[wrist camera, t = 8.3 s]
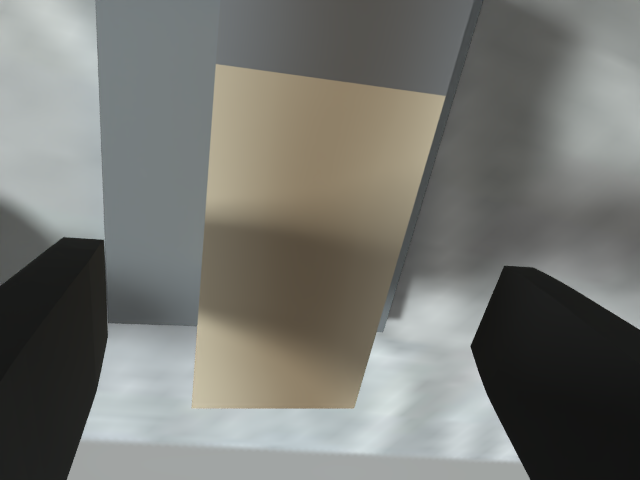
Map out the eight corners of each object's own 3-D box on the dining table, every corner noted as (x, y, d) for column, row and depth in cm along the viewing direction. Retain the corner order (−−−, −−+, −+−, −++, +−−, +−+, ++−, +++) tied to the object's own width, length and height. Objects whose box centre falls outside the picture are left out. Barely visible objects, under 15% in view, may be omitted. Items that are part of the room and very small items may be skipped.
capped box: (201, 265, 17) (191, 408, 12) (226, -83, 12) (225, -80, 7) (319, 272, 18) (354, 408, 13) (385, -51, 13) (482, -30, 8)
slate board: (113, 304, 19) (108, 322, 18) (98, -180, 12) (88, -187, 11) (376, 315, 21) (383, 332, 20) (493, -90, 14) (510, -90, 13)
